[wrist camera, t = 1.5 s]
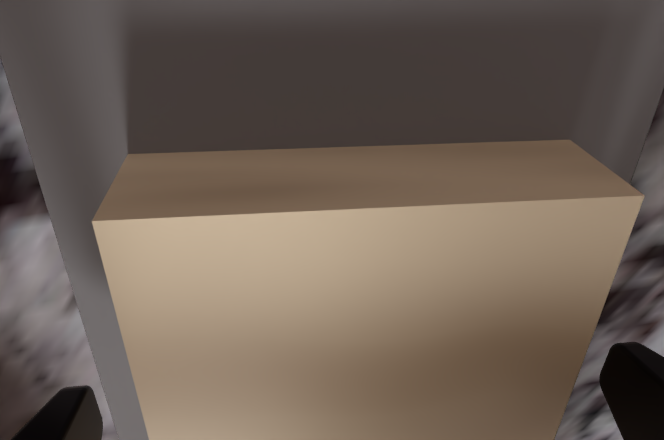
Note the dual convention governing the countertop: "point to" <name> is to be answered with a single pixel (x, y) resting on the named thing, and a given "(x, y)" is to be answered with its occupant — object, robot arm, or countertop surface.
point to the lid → (361, 287)
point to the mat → (306, 96)
